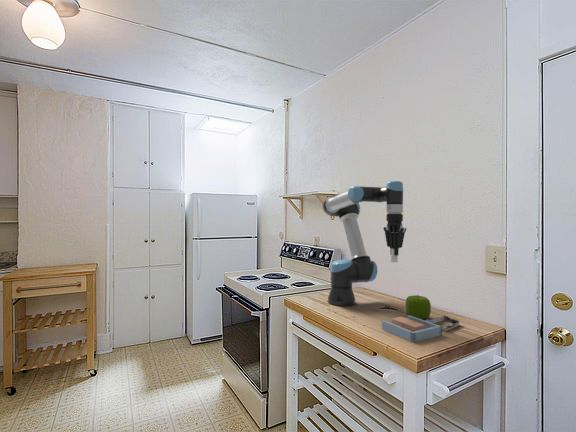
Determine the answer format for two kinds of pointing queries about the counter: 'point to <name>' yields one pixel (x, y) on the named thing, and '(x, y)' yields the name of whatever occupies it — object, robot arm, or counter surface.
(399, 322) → the terracotta tile
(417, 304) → the apple
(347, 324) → the counter surface
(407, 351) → the counter surface
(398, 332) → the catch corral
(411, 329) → the terracotta tile
